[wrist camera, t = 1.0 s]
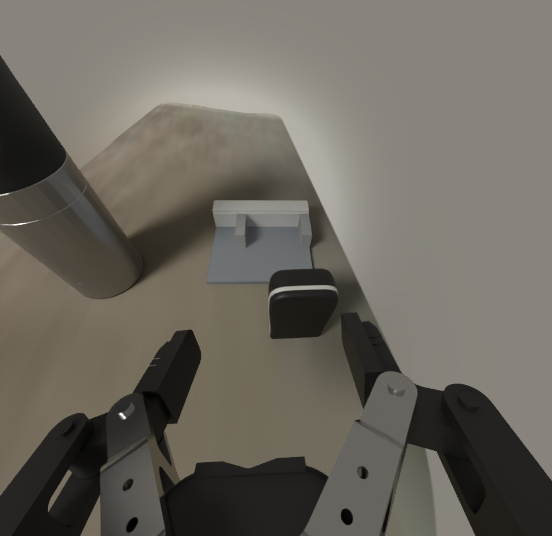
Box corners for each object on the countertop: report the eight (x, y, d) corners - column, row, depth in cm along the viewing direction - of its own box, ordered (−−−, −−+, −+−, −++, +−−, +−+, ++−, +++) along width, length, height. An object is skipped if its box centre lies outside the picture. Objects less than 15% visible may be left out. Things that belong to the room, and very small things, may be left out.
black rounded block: (317, 310, 33) (336, 261, 24) (321, 337, 31) (344, 294, 21) (267, 313, 32) (266, 263, 23) (268, 340, 30) (268, 297, 21)
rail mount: (207, 284, 35) (200, 267, 32) (218, 217, 43) (214, 199, 40) (313, 283, 35) (318, 267, 32) (304, 217, 44) (307, 199, 41)
